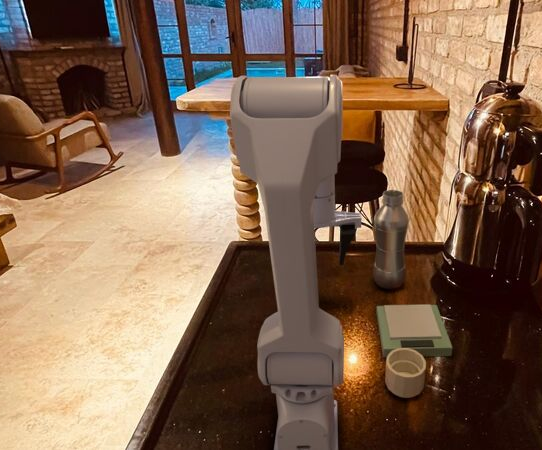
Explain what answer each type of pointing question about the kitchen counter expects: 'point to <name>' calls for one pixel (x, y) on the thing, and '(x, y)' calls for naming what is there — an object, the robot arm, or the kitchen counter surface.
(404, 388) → the dip bowl
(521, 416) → the kitchen counter surface
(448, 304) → the kitchen counter surface
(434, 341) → the scale
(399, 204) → the metal water bottle
